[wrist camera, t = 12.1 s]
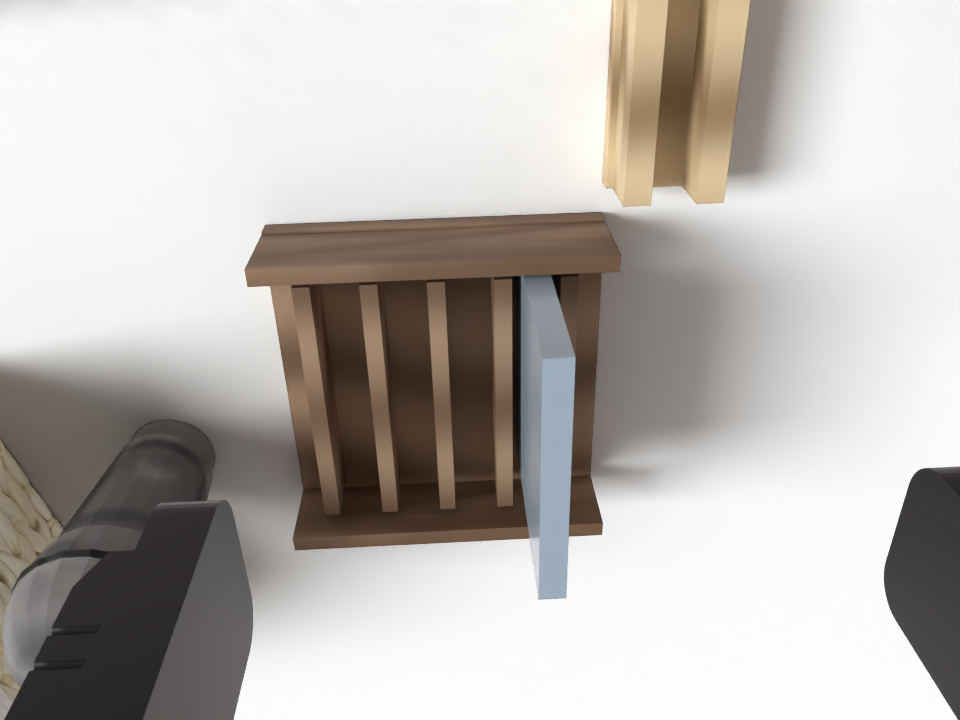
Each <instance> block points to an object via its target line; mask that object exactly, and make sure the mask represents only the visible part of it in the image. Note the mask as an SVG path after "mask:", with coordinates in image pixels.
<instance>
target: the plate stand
mask: <svg viewBox="0 0 960 720" xmlns="http://www.w3.org/2000/svg"><path fill="white" fill-rule="evenodd" d="M749 6H750V0H612V11H611V30H610V48H609V67H608V86H607V105H606V123H605V142H604V161H603V180H602V182H603V184H604V185H605V187H606V189H607V188H613V190H614V191H615V193H616V195H617V196H618V198H619V200H620V202H621V203H622V205H623V207H628V206H651V199H652V187H661V186H682V187H683V188H684V189H685V190H686V192H687V193H688V194H689V195H690V197H691V198H692V199H693V200H694V201H695V203H696V204H707V203H724V197H725V190H726V182H727V174H728V167H729V159H730V151H731V144H732V136H733V128H734V121H735V113H736V105H737V98H738V90H739V82H740V75H741V67H742V60H743V52H744V44H745V37H746V29H747V21H748V14H749Z"/></svg>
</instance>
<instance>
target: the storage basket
mask: <svg viewBox="0 0 960 720" xmlns="http://www.w3.org/2000/svg"><path fill="white" fill-rule="evenodd" d="M63 530H64V529H63V528H62V526H61V525H60V524H59V523H58V521H57V520H56V519H55V518H53V517H52V516H51V512H50V511H49V509H48V507H47V506H46V504H45V503H44V501H43V500H42V499H41V497H40V496H39V494H38V493H37V492H36V491H35V490H34V489H33V488H32V486H31V485H30V483H29V480H28V478H27V476H26V475H25V473H24V472H23V471H22V469H21V468H20V466H19V465H18V464H17V462H16V461H15V460H14V458H13V457H12V456H11V455H10V453H9V452H8V451H7V450H6V449H5V447H4V445H3V443H2V441H1V440H0V720H4V719H5V717H6V715H7V713H8V711H9V709H10V707H11V705H12V703H13V702H14V700H15V698H16V696H17V694H18V692H19V690H20V687H19V686H18V685H17V683H16V682H15V681H14V679H13V677H12V675H11V672H10V670H9V668H8V666H7V664H6V661H5V659H4V654H3V620H4V616H5V612H6V608H7V606H8V604H9V602H10V596H11V591H12V588H13V586H14V584H15V582H16V581H17V579H18V577H19V575H20V573H21V572H22V571H23V570H24V569H26V568H27V567H28V566H30V565H31V564H32V563H33V561H34V560H35V559H36V558H37V557H38V556H39V555H40V554H41V552H42V551H43V550H44V549H45V548H46V547H47V546H48V545H49V544H50V543H52V542H53V541H54V540H56V539H57V538H58V536H59V535H60V534H61V532H62V531H63Z"/></svg>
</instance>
